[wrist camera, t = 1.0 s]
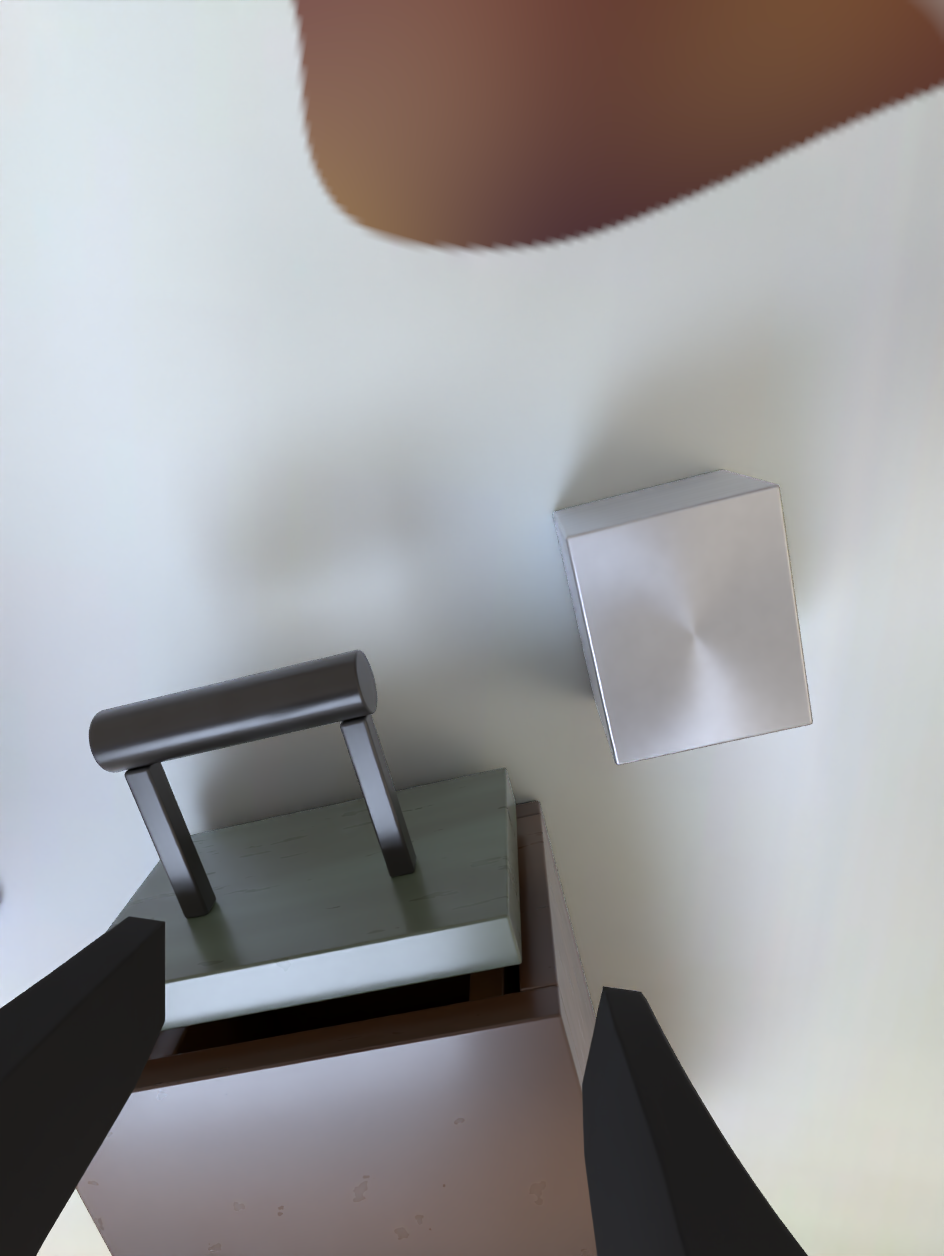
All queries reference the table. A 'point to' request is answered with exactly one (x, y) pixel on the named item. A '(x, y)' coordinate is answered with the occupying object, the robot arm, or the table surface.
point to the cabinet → (374, 1124)
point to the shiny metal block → (687, 613)
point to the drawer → (315, 871)
